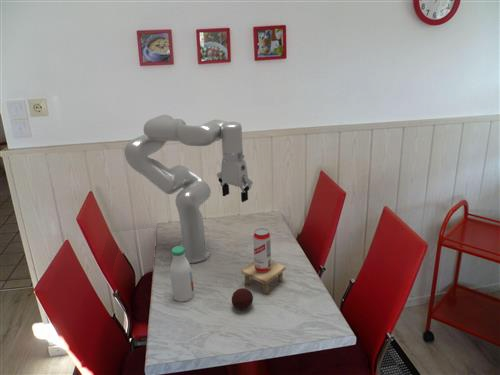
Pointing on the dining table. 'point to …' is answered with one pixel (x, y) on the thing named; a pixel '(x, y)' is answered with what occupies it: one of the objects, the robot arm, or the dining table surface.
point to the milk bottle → (181, 275)
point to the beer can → (262, 250)
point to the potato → (242, 298)
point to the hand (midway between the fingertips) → (235, 197)
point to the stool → (263, 274)
